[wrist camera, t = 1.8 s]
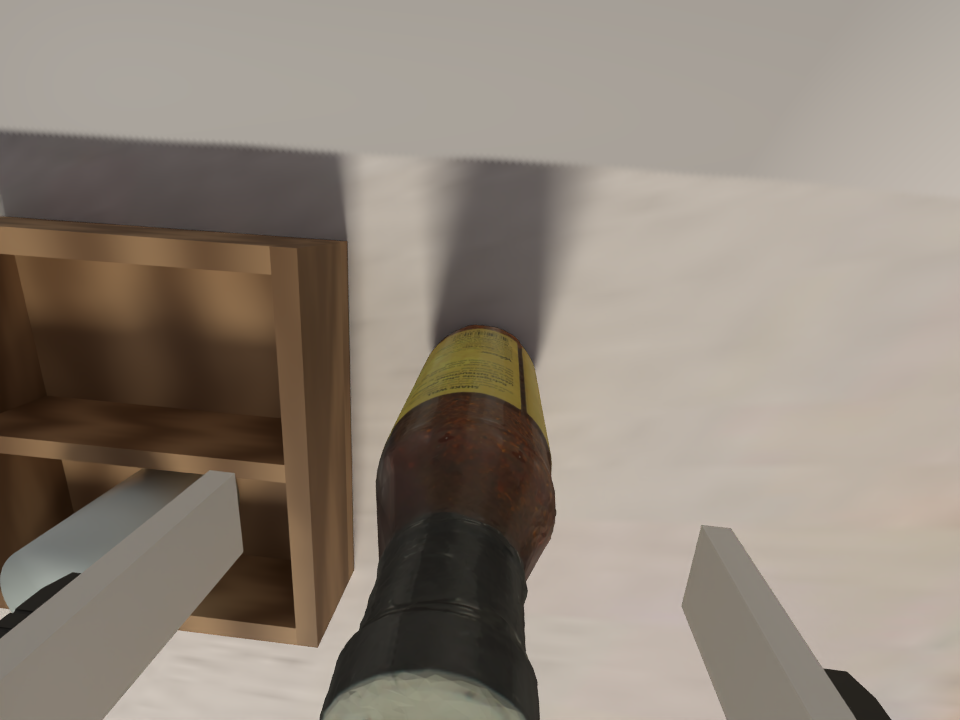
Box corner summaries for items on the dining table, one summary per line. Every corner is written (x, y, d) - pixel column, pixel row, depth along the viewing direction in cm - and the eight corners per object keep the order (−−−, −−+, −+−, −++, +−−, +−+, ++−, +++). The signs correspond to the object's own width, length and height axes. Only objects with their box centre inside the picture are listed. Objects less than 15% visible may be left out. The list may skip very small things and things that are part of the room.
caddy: (79, 539, 33) (-13, 606, 27) (4, 216, 26) (-137, 216, 21) (353, 570, 32) (317, 647, 26) (347, 241, 25) (297, 248, 20)
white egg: (156, 525, 31) (17, 643, 22) (143, 444, 29) (-15, 538, 20) (243, 534, 30) (136, 659, 22) (235, 453, 29) (114, 553, 20)
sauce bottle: (407, 371, 27) (153, 721, 8) (482, 297, 26) (376, 522, 7) (486, 445, 28) (418, 907, 9) (563, 378, 27) (670, 775, 8)
